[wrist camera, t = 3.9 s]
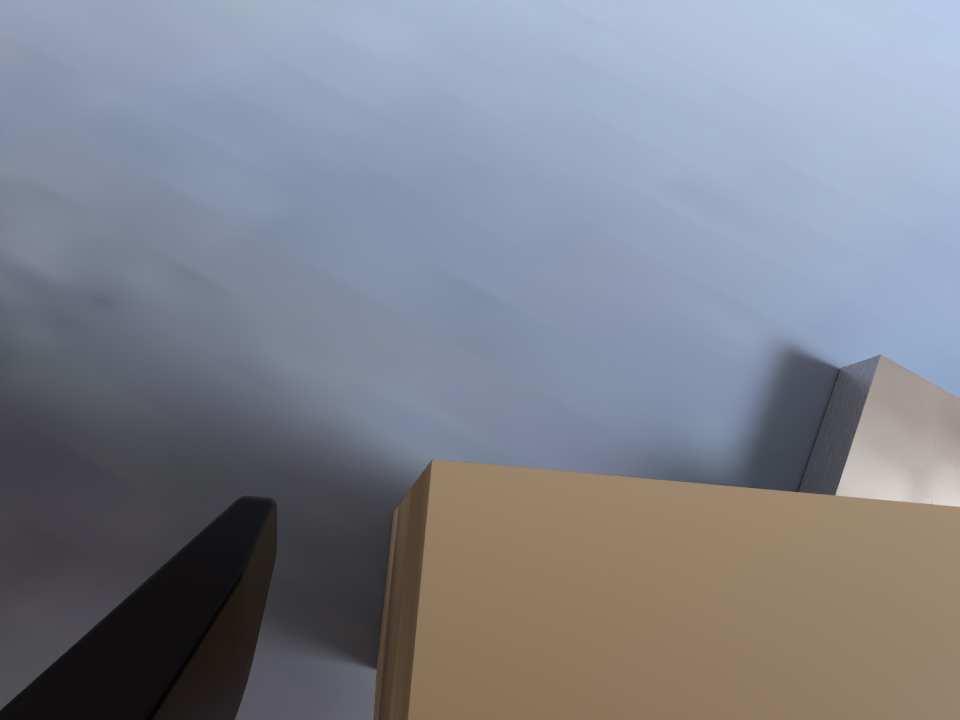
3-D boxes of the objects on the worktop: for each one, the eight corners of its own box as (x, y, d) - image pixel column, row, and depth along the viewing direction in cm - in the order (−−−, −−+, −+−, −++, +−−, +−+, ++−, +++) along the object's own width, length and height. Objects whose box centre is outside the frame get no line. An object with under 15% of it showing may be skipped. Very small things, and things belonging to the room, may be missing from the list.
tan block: (527, 677, 14) (1405, 1637, 2) (376, 669, 14) (304, 1828, 2) (535, 523, 15) (1166, 524, 3) (393, 512, 15) (433, 458, 3)
